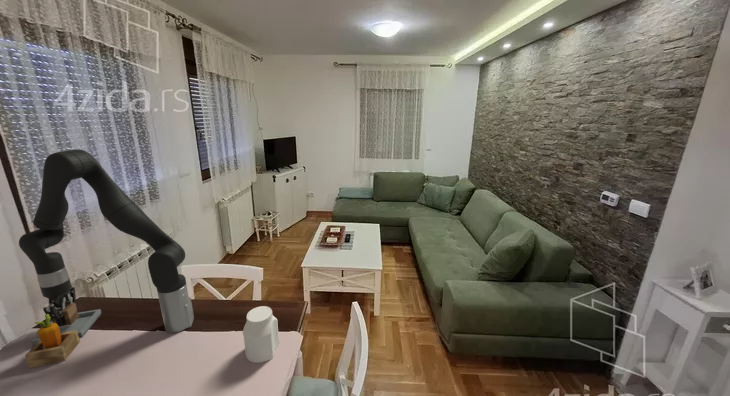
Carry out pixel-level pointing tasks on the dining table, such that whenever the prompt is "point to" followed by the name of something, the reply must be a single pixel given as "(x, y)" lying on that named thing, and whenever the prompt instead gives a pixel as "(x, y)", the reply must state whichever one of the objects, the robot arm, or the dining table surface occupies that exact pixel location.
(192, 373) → the dining table surface
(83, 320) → the tray
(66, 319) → the walnut block
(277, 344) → the jar
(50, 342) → the carrot
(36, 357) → the wooden crate
